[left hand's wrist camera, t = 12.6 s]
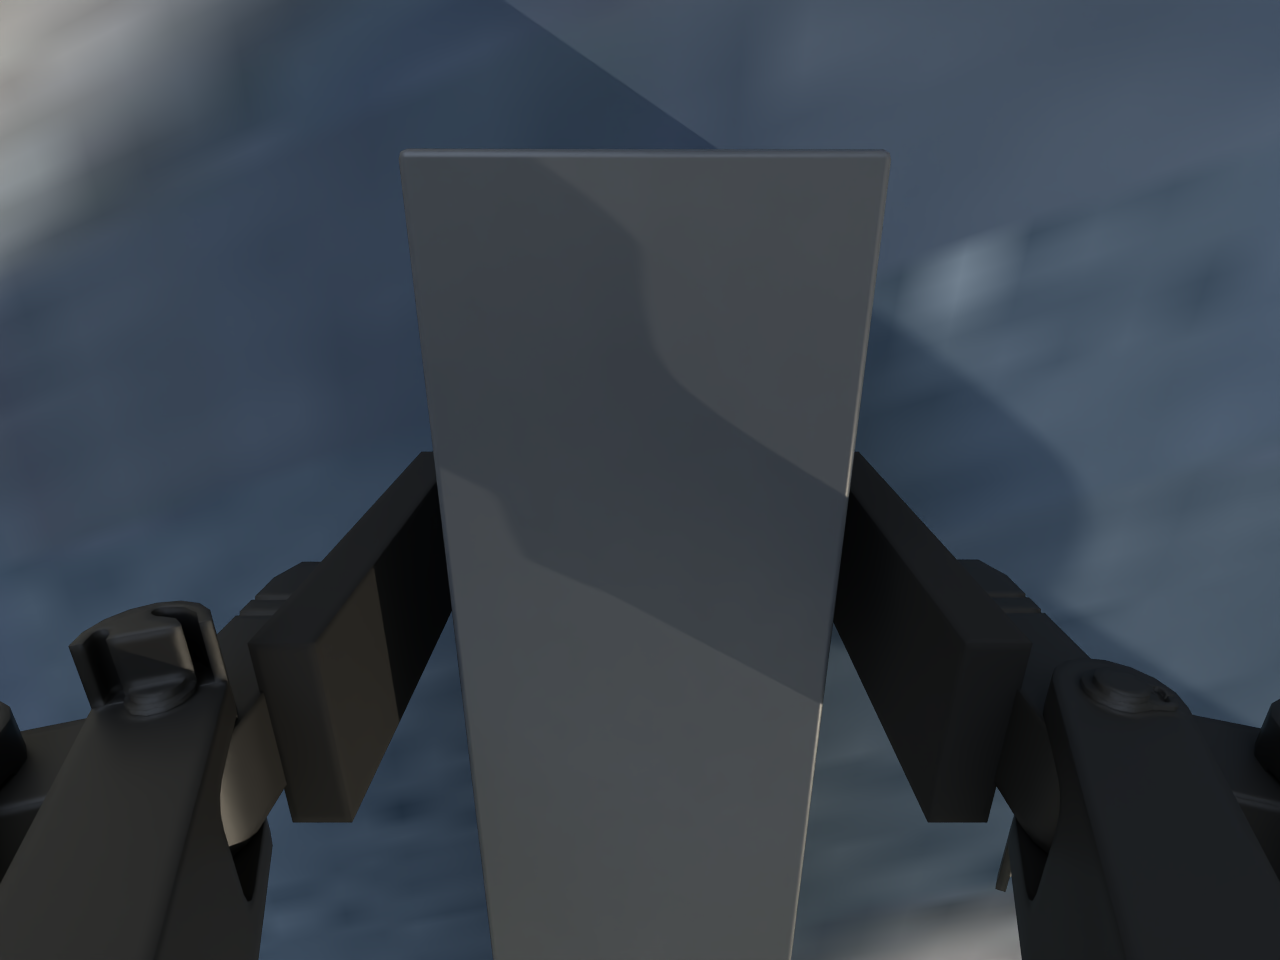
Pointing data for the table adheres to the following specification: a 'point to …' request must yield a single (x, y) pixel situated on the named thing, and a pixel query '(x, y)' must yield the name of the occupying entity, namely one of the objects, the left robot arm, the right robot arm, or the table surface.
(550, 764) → the bar
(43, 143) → the table surface
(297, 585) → the left robot arm
